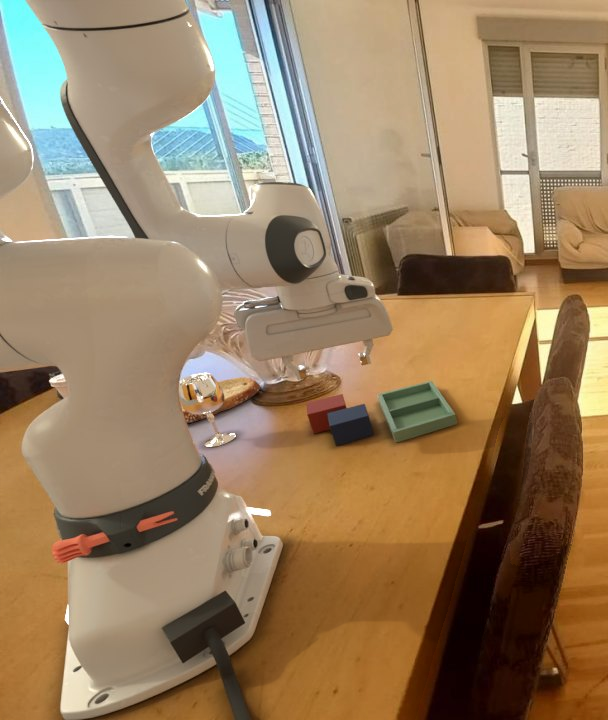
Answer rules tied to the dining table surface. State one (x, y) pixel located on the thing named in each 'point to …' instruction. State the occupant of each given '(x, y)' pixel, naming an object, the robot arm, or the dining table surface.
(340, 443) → the pad
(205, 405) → the wineglass
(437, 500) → the dining table surface
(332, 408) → the red block
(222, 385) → the slice of bread
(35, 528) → the dining table surface
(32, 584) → the dining table surface
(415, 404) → the tray rib
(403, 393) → the tray
